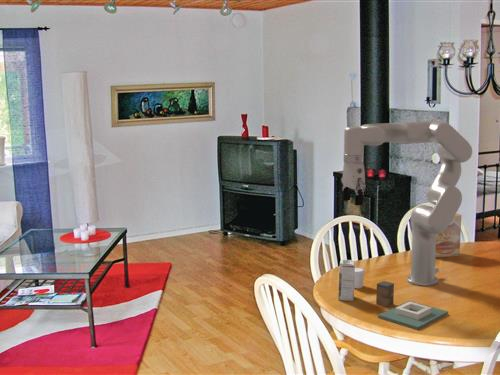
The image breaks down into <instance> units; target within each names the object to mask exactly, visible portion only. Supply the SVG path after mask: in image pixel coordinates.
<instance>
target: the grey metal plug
mask: <svg viewBox="0 0 500 375" xmlns="http://www.w3.org/2000/svg"><path fill="white" fill-rule="evenodd" d="M394 290H395V283H393V282H389V281H386V280H383V281H380V282H377V283H376V298H375V299H376V301H375V302H376V304H375V305H378V306H381V307H385V308H388V307H390V306H392V305H394V299H395V298H394V296H395V295H394V294H395V292H394Z"/></svg>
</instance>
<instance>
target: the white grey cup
mask: <svg viewBox="0 0 500 375" xmlns="http://www.w3.org/2000/svg"><path fill="white" fill-rule="evenodd" d="M365 271H366V270H365V269H364V268H362V267H356V266H355V277H354V289H355V288H357V289H361V288H363V287H364V280H365Z"/></svg>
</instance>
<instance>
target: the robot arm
mask: <svg viewBox="0 0 500 375" xmlns="http://www.w3.org/2000/svg"><path fill="white" fill-rule="evenodd" d="M343 134H344V135H343V136H344V137H343V138H344V139H343V169H342V177H341V178H340V181H341V184H340V185H341V189H342V201H350V200H351V190H354V192H355V194H354V206H363V204H364V196H365V195H364V194H365V190H366V175H365V173H366V170H365V165H364V164H365V163H364V156H365V154H364V152H365V151H364V148H365V146H373V147H378V146H381V145H383V144H384V143H393V144H398V145H412V144H425V143H435V144H437V148H436V149H437V154H438V156H439V160H440V167H439V170H438V172H437V174H436V176H435V177H434V180H432V182H431V184H430V186H429V188H428V190H427V192H426V200H427V201H428V202H429V203H430V204H432V205H434V207H432V206H430V205H426V204H420V205H417V206H415V207H414V208H413V209H412V211H411V214H410V226H411V232H412V233H411V234H412V235H411V240H412V241H411V262H410V264H411V265H410V274H409V275H407V277H406V281H407V282H408V283H410V284H412V285H415V286H422V287H424V286H427V287H429V286H435V285H437V284H438V283H439V277H437V276H436V275H437V273H439V272H440V269H439V268H437V267H436V258H437V257H436V234H441V233H443V232H444V231H445V230H446V229H447V228H448V226H449V225H450V223H451V221H452V219H453V218H454V216H455V214H456V213H457V212H458V210H459V208H460V207H461V205H462V202H463V194H462V191H461V190H460V188H458V187H456V186H457V184H458V182H459V180H460V178H461V175H462V163H465V162H467V161H469V160H470V159H471V158H472V155H473V148H472V145H471V144H470V142H469V141H468V140H467V139H466V138H465V137H463V136H462V135H461V134H460V133H459V132H458V130H456V129H455V128H454V126H452V125H451V124H449V123H448V122H445V121H440V120H439V121H438V120H421V121H405V122H403V121H402V122H388V123H387V122H385V123H367V124H362V125H360V126H347V127H345V128H344V132H343ZM350 189H351V190H350ZM457 214H458V213H457Z"/></svg>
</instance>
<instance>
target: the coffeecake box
mask: <svg viewBox="0 0 500 375" xmlns="http://www.w3.org/2000/svg"><path fill="white" fill-rule="evenodd" d="M462 216H463V215H462V214H461V213H456V214H455V216H454V218H453V219H452V221H451V223H450V225H449V226H448V228H447V229H446V230H445V231H444V232H443V233H441V234H436V258H445V257H447V258H449V257H457V256H458V257H459V256H460V250H461V247H460V246H461V231H462Z"/></svg>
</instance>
